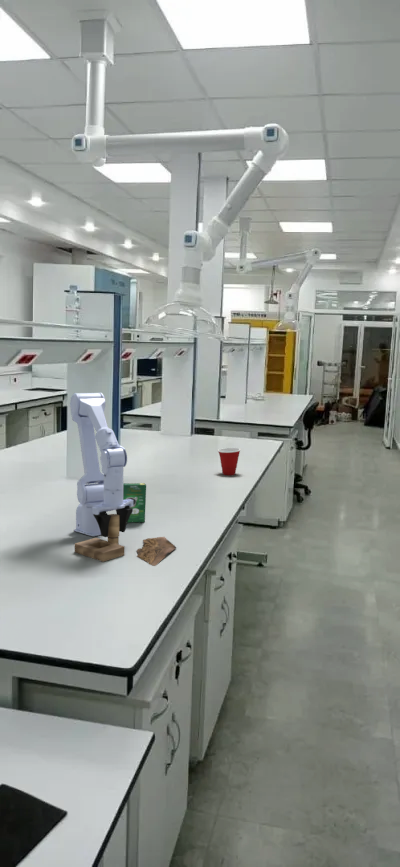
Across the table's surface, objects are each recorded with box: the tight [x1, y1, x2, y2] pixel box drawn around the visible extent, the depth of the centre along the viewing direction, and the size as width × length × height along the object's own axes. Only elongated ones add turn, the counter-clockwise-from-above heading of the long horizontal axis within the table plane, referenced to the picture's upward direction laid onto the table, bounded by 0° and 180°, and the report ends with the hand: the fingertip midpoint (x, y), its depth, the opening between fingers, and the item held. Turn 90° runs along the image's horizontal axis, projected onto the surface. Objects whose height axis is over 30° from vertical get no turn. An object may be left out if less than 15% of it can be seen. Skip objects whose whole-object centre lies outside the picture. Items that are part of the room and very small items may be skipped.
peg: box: [107, 513, 120, 545], centre depth 191 cm, size 4×4×9 cm
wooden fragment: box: [136, 536, 177, 567], centre depth 188 cm, size 26×11×1 cm, turn 175°
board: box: [74, 537, 125, 563], centre depth 184 cm, size 12×8×2 cm, turn 50°
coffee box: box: [123, 482, 147, 524], centre depth 217 cm, size 8×3×13 cm, turn 104°
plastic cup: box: [217, 447, 242, 476], centre depth 301 cm, size 11×11×12 cm
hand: (113, 533), depth 192 cm, fingers open, 6 cm apart
